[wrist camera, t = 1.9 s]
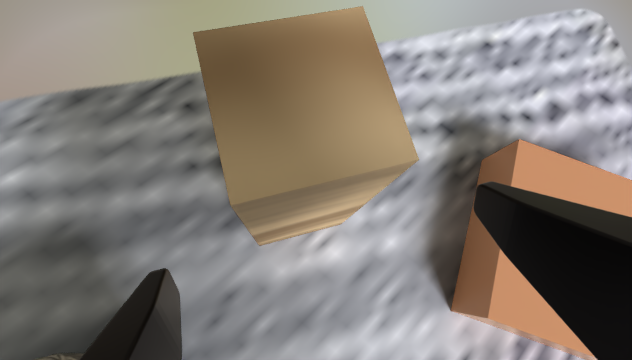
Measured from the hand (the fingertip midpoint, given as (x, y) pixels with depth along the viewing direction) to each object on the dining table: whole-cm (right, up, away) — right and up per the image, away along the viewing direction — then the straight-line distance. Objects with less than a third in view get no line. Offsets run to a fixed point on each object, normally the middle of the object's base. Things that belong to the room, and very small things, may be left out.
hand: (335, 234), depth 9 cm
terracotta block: (+14, -3, +12) cm, 19 cm away
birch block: (-2, +1, +11) cm, 11 cm away
